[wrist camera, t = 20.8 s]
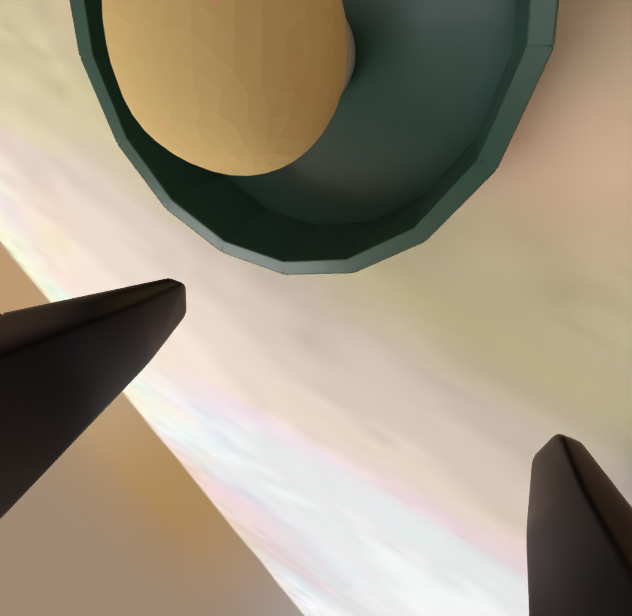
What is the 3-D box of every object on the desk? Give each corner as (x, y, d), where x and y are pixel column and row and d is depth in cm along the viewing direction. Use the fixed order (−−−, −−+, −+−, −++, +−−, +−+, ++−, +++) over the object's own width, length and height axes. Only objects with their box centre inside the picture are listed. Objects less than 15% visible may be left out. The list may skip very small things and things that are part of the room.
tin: (663, -249, 10) (789, -456, 6) (434, 272, 20) (424, 325, 16) (141, -285, 13) (-11, -442, 9) (170, 185, 22) (106, 211, 19)
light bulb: (411, -38, 13) (316, -183, 5) (373, 150, 17) (285, 227, 9) (250, -53, 14) (-12, -185, 7) (249, 124, 18) (79, 172, 10)
